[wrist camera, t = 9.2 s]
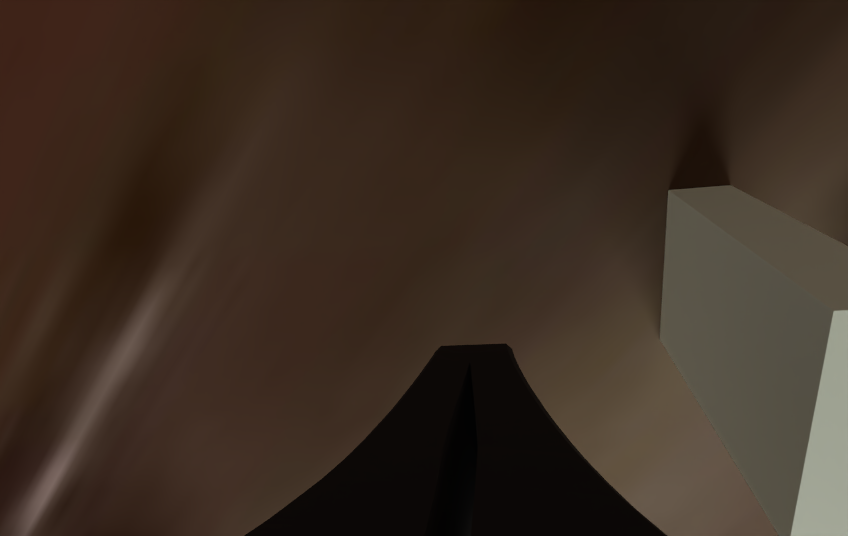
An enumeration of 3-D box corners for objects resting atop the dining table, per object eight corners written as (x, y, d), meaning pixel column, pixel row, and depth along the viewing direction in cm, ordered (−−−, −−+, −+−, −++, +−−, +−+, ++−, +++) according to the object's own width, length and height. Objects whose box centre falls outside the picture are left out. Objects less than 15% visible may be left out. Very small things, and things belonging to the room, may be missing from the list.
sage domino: (730, 185, 13) (961, 305, 7) (714, 337, 15) (890, 552, 8) (668, 190, 13) (833, 311, 7) (659, 339, 15) (787, 550, 9)
